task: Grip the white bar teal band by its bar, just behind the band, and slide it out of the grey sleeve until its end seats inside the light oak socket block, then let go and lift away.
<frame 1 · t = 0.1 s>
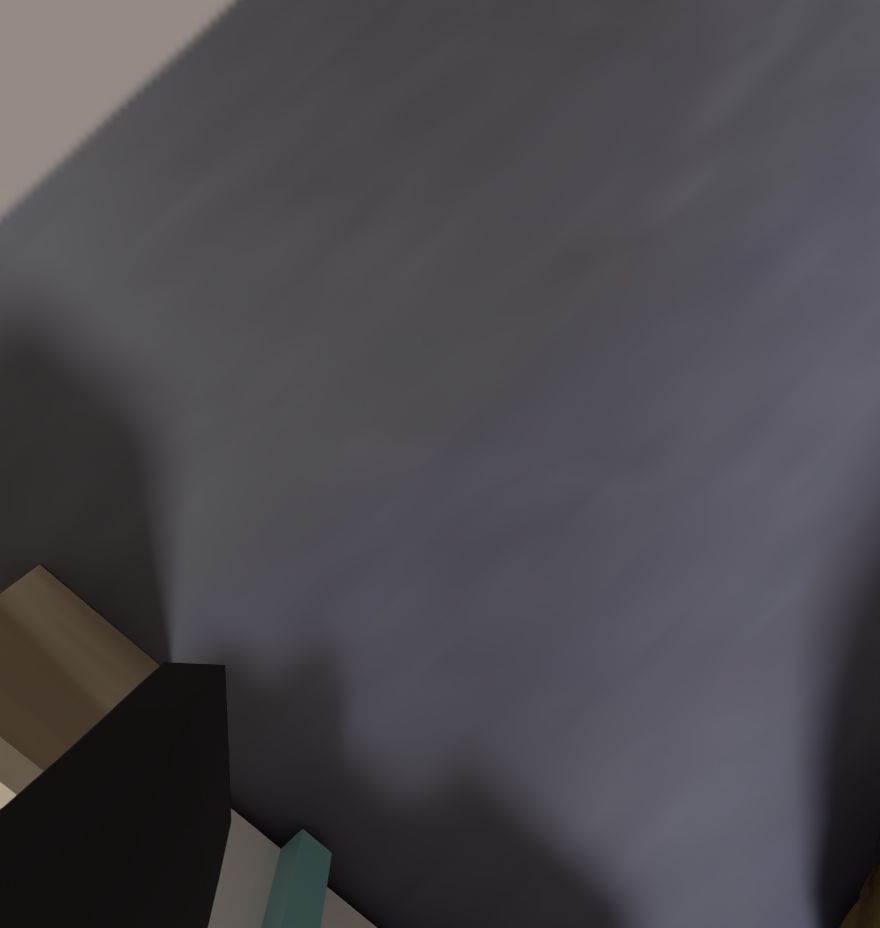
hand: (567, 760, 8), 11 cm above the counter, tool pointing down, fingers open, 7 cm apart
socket: (17, 711, 20), on the counter
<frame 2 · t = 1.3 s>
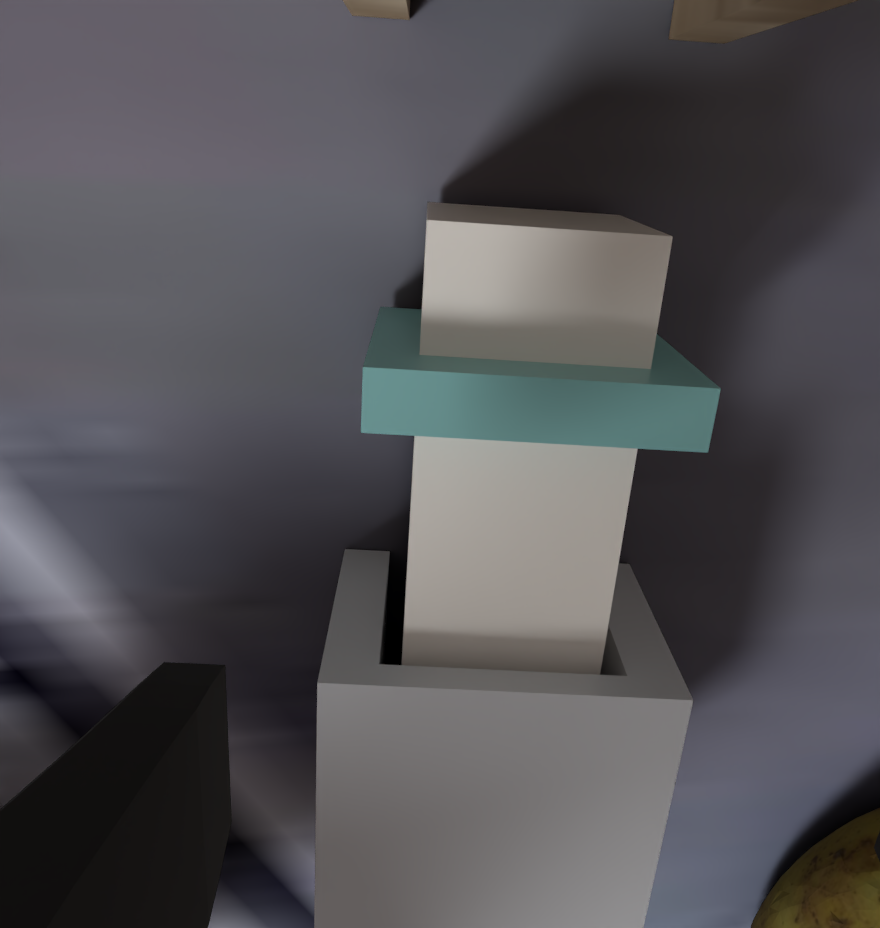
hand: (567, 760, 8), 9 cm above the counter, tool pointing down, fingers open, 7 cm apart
white bar teal band: (503, 550, 15), point 3 cm above the counter, slide at 0.0 cm
sleeve: (478, 650, 19), on the counter
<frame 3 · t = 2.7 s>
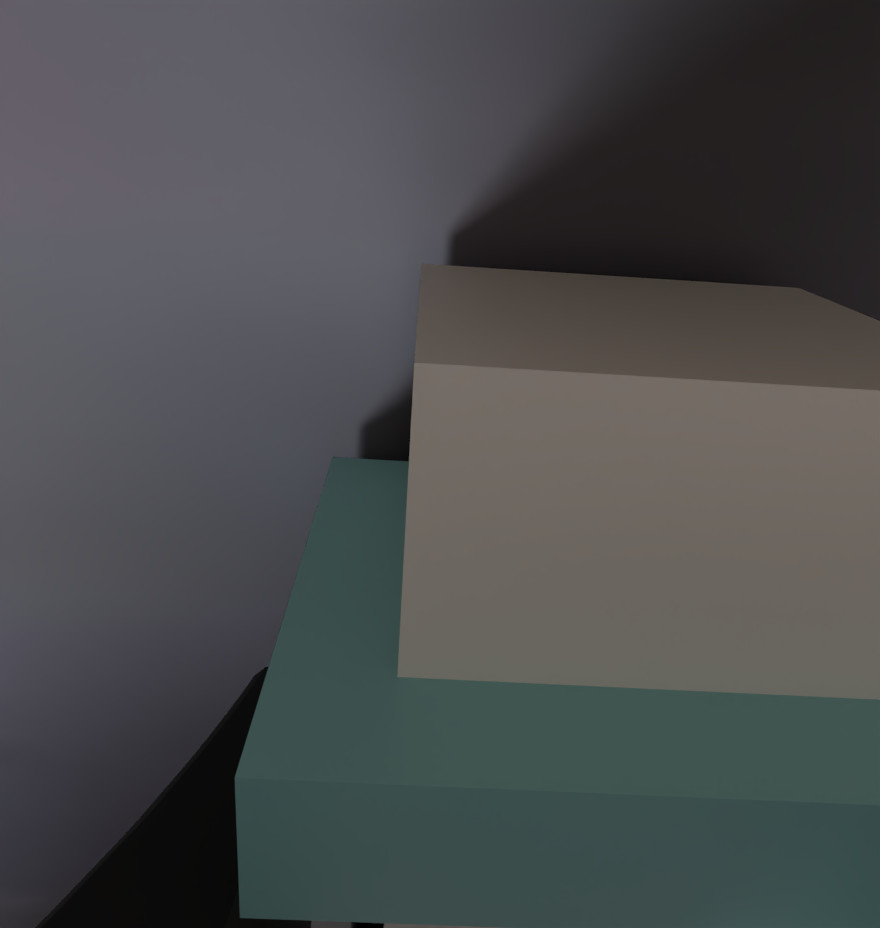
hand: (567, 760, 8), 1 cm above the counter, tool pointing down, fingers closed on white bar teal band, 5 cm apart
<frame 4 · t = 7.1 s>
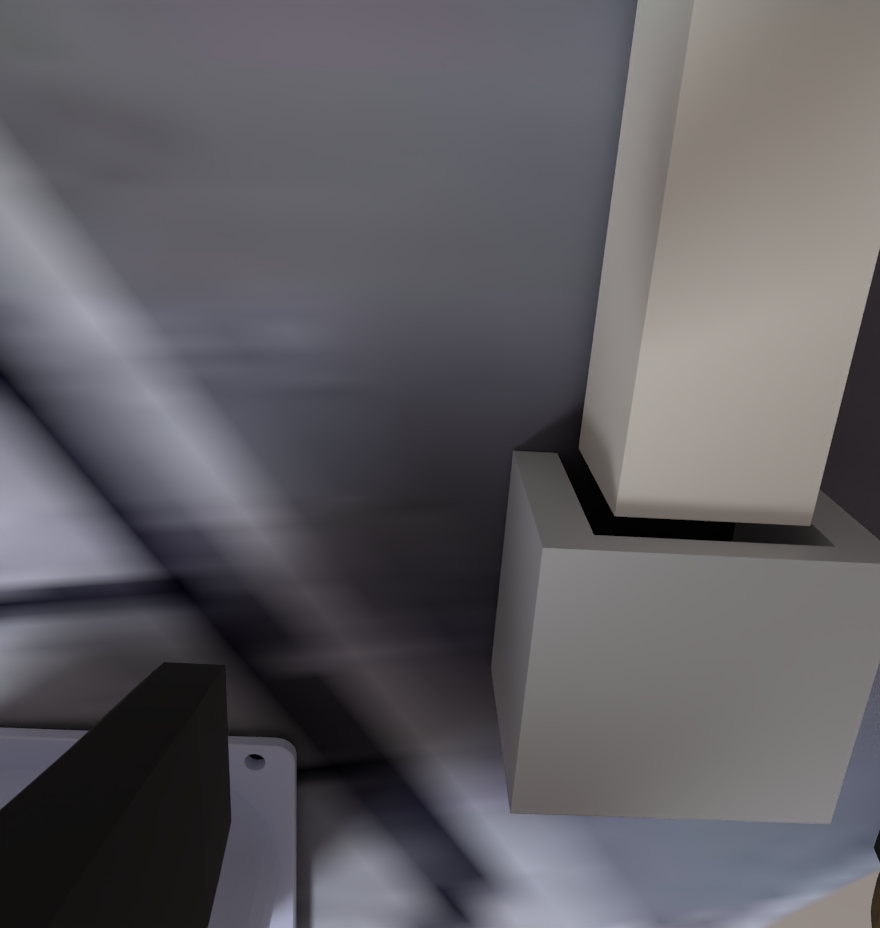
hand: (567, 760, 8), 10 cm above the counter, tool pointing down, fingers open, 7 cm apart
white bar teal band: (751, 167, 14), point 3 cm above the counter, slide at 4.8 cm
sleeve: (636, 556, 19), on the counter
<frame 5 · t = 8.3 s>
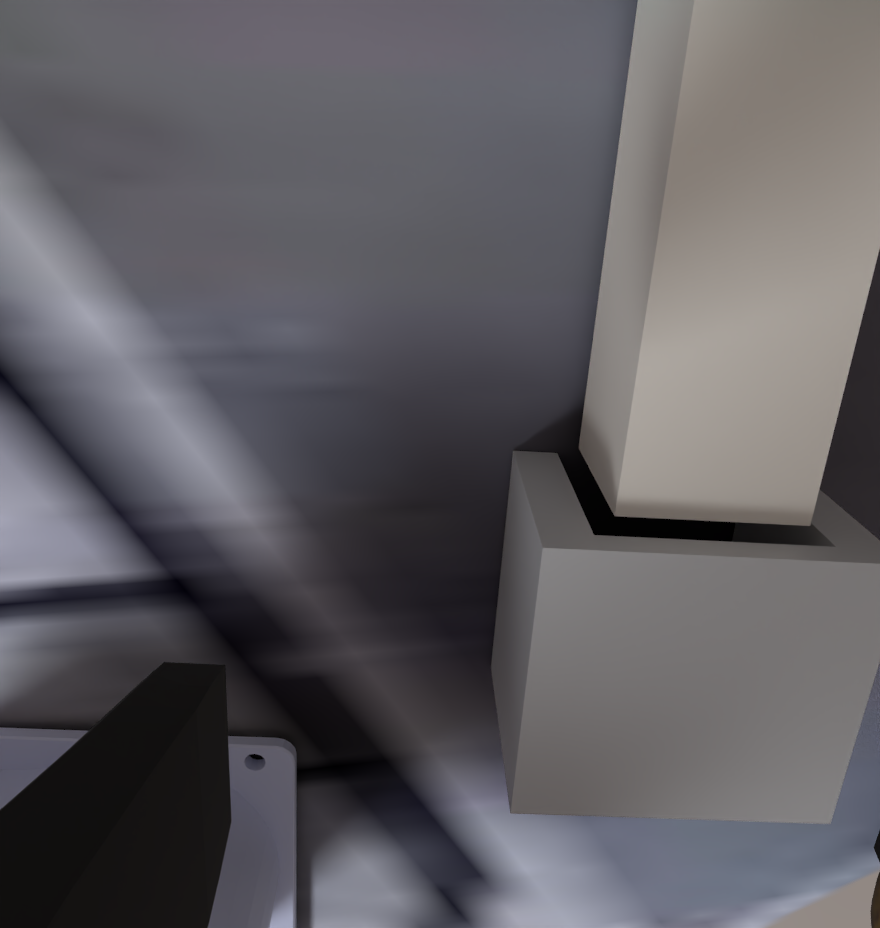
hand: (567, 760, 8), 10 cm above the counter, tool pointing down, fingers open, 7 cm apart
white bar teal band: (751, 167, 14), point 3 cm above the counter, slide at 4.8 cm
sleeve: (636, 556, 19), on the counter
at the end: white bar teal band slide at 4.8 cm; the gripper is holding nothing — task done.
